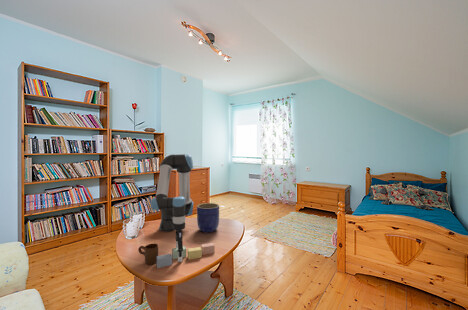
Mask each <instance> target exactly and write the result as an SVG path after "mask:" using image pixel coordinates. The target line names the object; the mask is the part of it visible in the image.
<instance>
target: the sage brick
mask: <svg viewBox="0 0 468 310" xmlns="http://www.w3.org/2000/svg"><path fill="white" fill-rule="evenodd" d="M177 250H178V248H176V247H175V248H174V247H173V248H171V255H172V260H178V252H177ZM185 257H187V247H186V246H184V245H183V258H185Z"/></svg>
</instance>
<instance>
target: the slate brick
mask: <svg viewBox="0 0 468 310" xmlns="http://www.w3.org/2000/svg"><path fill="white" fill-rule="evenodd" d="M172 265H173V258H172V252H171V253H166V254H161V255H158V256H157V262H156V268H157V269H159V268H163V267H170V266H172Z"/></svg>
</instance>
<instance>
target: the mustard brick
mask: <svg viewBox="0 0 468 310" xmlns="http://www.w3.org/2000/svg"><path fill="white" fill-rule="evenodd" d="M202 256H203V255H202V249H201V246H196V247H191V248H190V247H189V248H187V259H188V260H194V259H199V258H203V257H202Z"/></svg>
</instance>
